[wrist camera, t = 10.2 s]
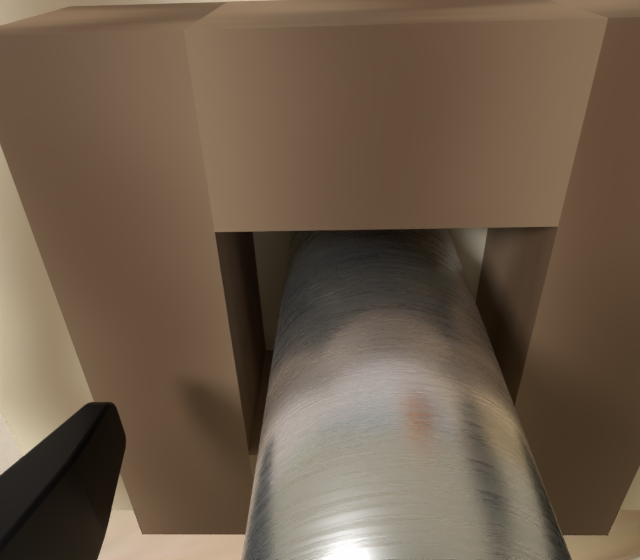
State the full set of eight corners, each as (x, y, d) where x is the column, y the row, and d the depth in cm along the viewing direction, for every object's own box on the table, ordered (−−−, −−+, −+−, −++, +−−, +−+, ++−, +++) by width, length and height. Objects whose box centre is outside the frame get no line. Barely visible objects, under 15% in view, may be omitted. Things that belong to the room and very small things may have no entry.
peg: (463, 185, 12) (769, 798, 3) (444, 327, 14) (605, 915, 6) (283, 187, 12) (154, 782, 4) (292, 328, 14) (227, 902, 6)
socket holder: (1109, -350, 8) (1800, -602, 4) (671, 484, 19) (755, 622, 15) (-295, -281, 9) (-772, -445, 5) (62, 484, 20) (-3, 616, 16)
